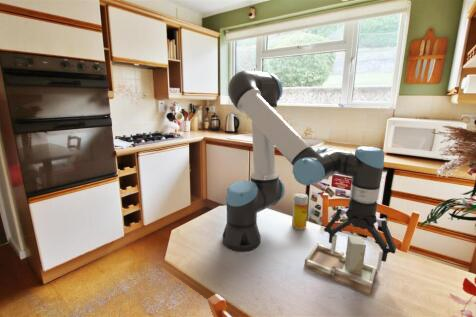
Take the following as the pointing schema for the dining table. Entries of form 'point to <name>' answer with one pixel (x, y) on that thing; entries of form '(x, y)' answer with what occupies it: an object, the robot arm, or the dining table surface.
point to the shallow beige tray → (339, 268)
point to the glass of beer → (300, 210)
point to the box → (355, 255)
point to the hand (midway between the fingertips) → (354, 260)
